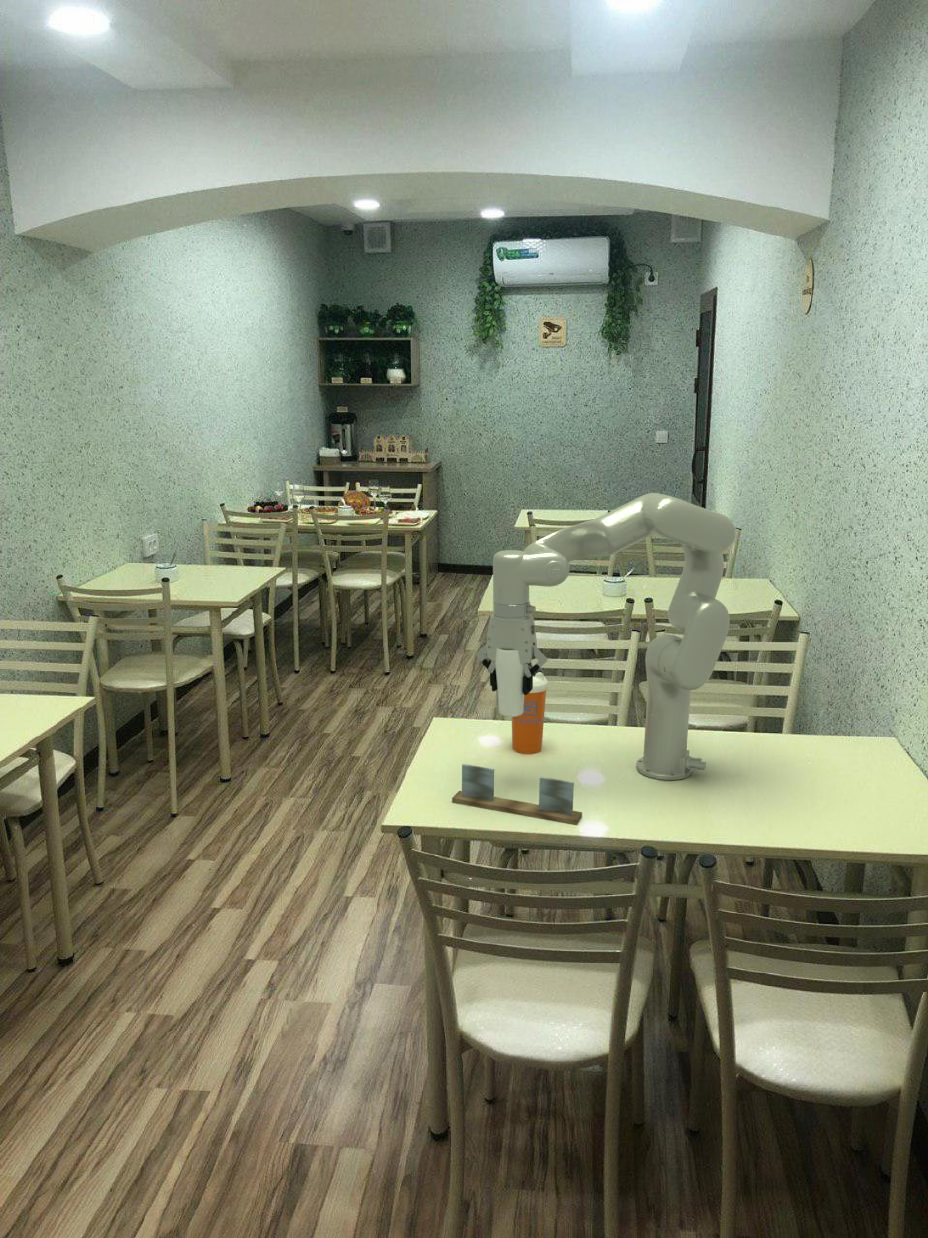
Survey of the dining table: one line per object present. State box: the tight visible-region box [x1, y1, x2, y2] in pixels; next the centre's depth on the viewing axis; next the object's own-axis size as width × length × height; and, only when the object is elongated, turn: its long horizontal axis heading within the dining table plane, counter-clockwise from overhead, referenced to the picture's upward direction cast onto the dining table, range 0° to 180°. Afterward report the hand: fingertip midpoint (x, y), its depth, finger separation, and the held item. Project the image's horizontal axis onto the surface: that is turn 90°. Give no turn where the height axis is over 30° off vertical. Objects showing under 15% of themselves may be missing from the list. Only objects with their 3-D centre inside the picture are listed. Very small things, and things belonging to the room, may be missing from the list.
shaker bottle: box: [511, 667, 548, 755], centre depth 225 cm, size 9×9×20 cm
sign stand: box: [451, 763, 583, 826], centre depth 193 cm, size 27×4×8 cm, turn 68°
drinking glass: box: [495, 648, 525, 718], centre depth 200 cm, size 7×7×15 cm
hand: (511, 690), depth 200 cm, fingers closed on drinking glass, 6 cm apart
